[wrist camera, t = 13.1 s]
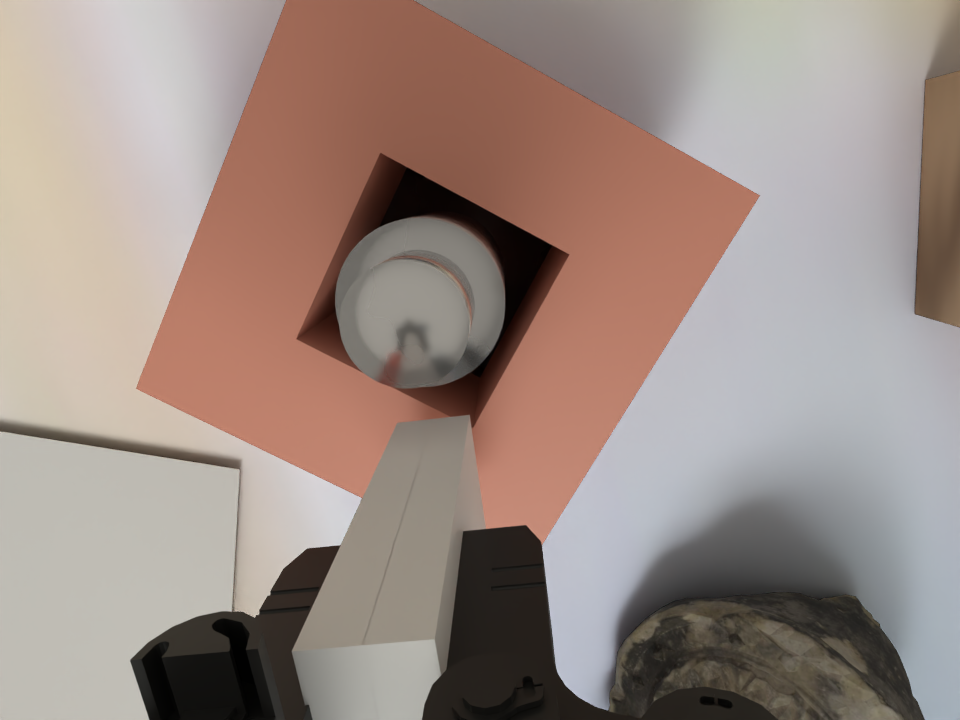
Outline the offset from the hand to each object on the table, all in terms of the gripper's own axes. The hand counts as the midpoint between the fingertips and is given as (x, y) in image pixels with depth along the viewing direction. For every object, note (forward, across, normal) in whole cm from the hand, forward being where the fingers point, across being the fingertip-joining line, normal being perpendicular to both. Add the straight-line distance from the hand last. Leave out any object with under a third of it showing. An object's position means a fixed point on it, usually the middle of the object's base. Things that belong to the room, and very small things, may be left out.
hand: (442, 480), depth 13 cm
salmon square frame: (+6, 0, -4) cm, 7 cm away
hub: (+9, 0, -4) cm, 9 cm away
